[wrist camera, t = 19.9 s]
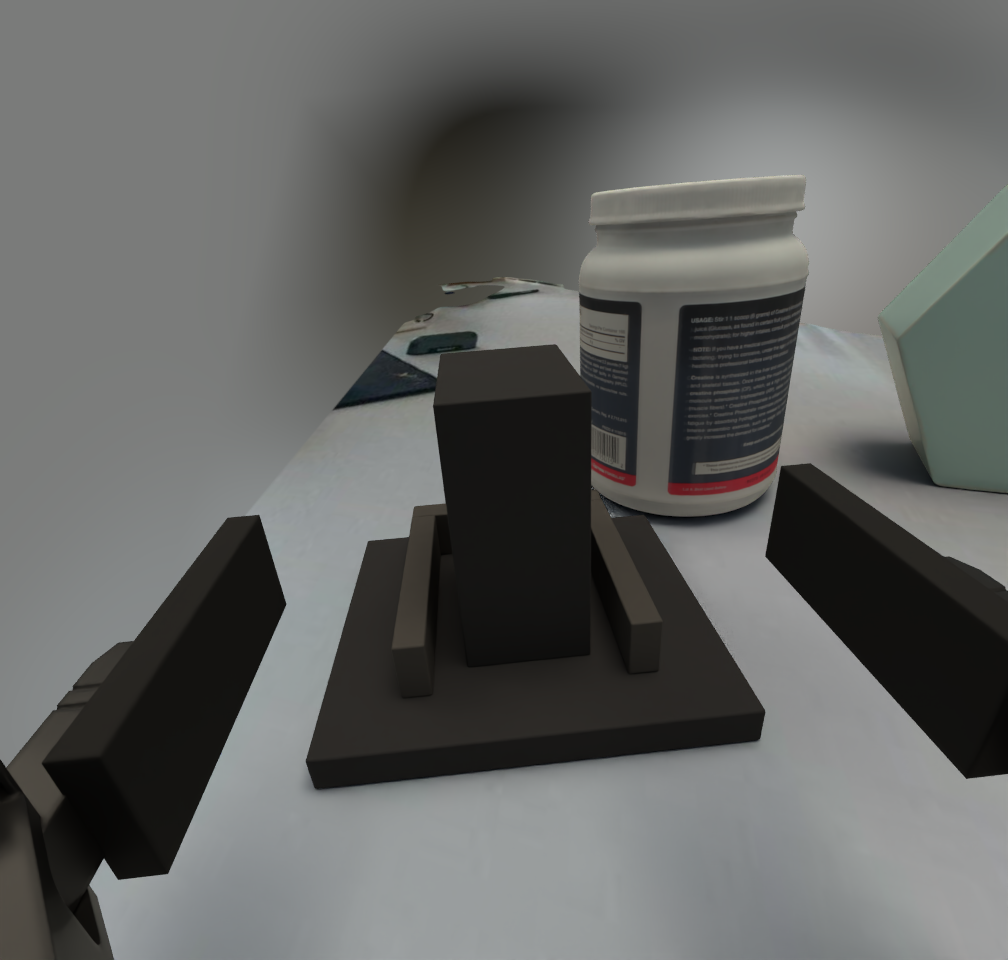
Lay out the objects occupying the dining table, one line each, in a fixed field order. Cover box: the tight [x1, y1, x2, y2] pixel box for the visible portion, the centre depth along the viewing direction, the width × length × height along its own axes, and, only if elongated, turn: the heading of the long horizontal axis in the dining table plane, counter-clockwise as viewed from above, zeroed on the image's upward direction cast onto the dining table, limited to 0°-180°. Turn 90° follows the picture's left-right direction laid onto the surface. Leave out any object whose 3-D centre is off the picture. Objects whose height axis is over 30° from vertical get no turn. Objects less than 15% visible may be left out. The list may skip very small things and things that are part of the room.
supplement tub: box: [579, 175, 809, 517], centre depth 34 cm, size 13×13×18 cm
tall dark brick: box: [433, 344, 592, 667], centre depth 23 cm, size 5×7×11 cm
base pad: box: [306, 490, 765, 789], centre depth 25 cm, size 16×14×4 cm
